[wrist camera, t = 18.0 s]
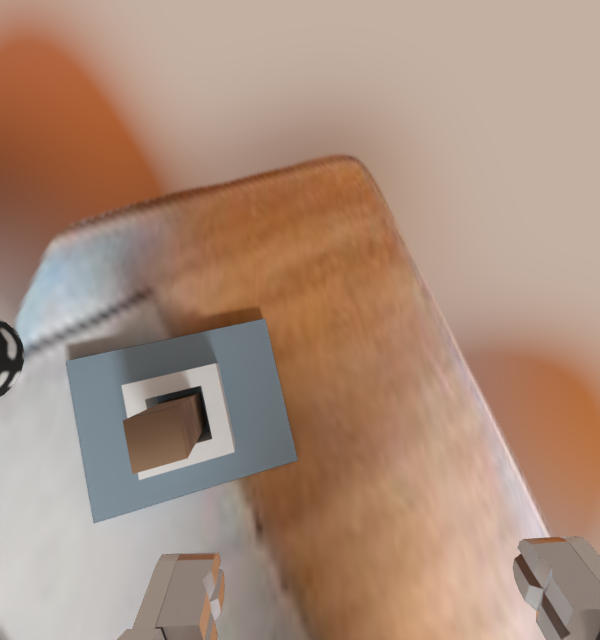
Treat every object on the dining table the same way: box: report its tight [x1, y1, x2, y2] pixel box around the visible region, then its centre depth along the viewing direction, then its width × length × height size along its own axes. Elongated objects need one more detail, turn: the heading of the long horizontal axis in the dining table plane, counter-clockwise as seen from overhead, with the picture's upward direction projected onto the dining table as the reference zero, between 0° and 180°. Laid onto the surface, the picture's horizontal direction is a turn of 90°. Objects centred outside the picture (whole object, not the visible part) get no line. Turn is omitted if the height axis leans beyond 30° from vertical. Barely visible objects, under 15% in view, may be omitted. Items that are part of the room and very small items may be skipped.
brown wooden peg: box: [123, 392, 206, 474], centre depth 25 cm, size 3×3×12 cm
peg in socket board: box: [66, 319, 298, 523], centre depth 30 cm, size 14×18×6 cm
